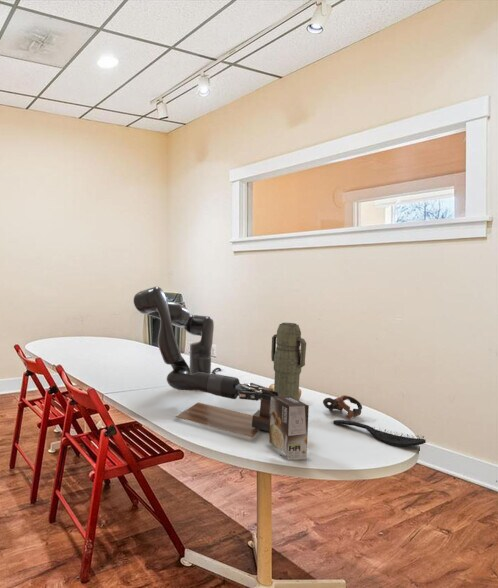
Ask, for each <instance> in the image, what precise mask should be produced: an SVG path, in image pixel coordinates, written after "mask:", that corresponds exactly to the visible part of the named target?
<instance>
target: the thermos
mask: <svg viewBox="0 0 498 588" xmlns="http://www.w3.org/2000/svg"><path fill="white" fill-rule="evenodd" d="M306 351H307V342H306V340H305V338H302V331H301V328H300V325H299V324H297V323H294V322H281V323H279V324H278V327H277V330H276V334H273V336H271V352H270V353H271V355H270V357H271V362H273V371H274V383H273V384H274V391H276V392H278V396H291V397H293V398H295V399H297V400H299V401H301V400H300V399H299V389H300V375H301V373H302V368H304V366H306V354H307V353H306Z"/></svg>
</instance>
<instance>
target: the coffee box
mask: <svg viewBox="0 0 498 588" xmlns="http://www.w3.org/2000/svg"><path fill="white" fill-rule="evenodd" d="M299 400H300V399H299ZM299 400H297V399H295V398H293V397H291V396H272V397H271V410H270V432H269V444H270V445H272V447H275V448H276V449H278V451H280V452H282V454H281V453H279V455H280V456H281V457H283V458H284V459H285V460H287V461H295V460H296V461H298V460H299V461H300V460H307V458H308V457H307V456H308V437H309V433H308V432H309V412H310V411H309V409H310V405H309V404H307V403H305V402H302V401H301V400H300V401H299Z"/></svg>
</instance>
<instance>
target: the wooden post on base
mask: <svg viewBox="0 0 498 588" xmlns="http://www.w3.org/2000/svg"><path fill="white" fill-rule="evenodd" d="M260 391H261V390H260ZM261 392H265V393H270V394H273V389H271V388H269V387H267V386H263V388H262V391H261ZM259 407H260V408H259V409H257V411H255V412H254V413H253V414H252V415H253V417H252V427H254V428H258V429H260V430H261V431H265V432H269V433H270V410H271V401H269V400H265V399H262V400H260V406H259Z"/></svg>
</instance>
